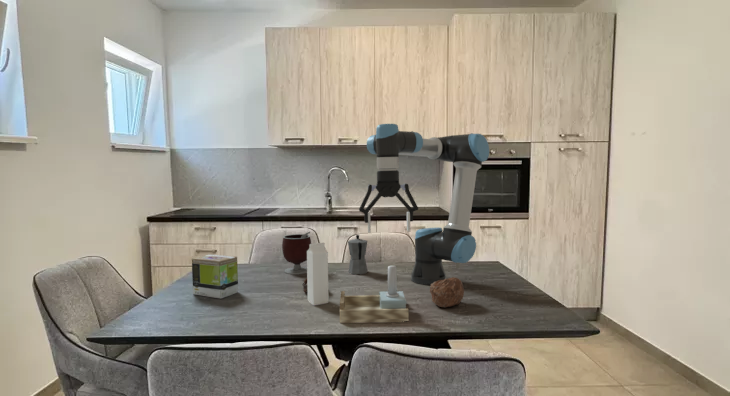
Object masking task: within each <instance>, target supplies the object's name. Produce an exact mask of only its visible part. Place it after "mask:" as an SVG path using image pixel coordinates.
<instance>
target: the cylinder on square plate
mask: <svg viewBox="0 0 730 396" xmlns="http://www.w3.org/2000/svg"><path fill="white" fill-rule="evenodd" d="M397 268H398V267H397V266H396V265H388V266H387V290H386V291H378V295H380V309H400V308H407V306H406V305H407V301H408V300H407V299H406V297H405V293H404V291H403V290H402V291H401V290H399V291H398V287H397V286H398V284H397V283H398V280H397V279H398V278H397V276H398V273H397V272H398V271H397Z"/></svg>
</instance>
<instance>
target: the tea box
mask: <svg viewBox="0 0 730 396" xmlns="http://www.w3.org/2000/svg"><path fill="white" fill-rule="evenodd" d="M191 271H192V272H191V274H192V294H193V295H196V296H203V297H208V298H215V299H224V298H227V297H229V296H232V295H234V294H237V293H238V292H239V279H238V278H239V273H238V256H234V255H224V254H223V255H222V254H212V253H211V254H206V255H202V256H201V255H200V256H197V257H193V258H191Z"/></svg>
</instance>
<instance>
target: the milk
mask: <svg viewBox="0 0 730 396" xmlns="http://www.w3.org/2000/svg"><path fill="white" fill-rule="evenodd" d="M328 257H329V252H328V250H327V249H326V243H325V242H317V243H316V242H315V243H311V244H310V245H309V249H308V250H307V261H306V267H307V273H306V279H307V284H306V285H307V291H306V292H307V301H308V302H309V303H310V304H311V305H312V306H319V305H325V304H328V303H329V292H328V290H329V258H328Z"/></svg>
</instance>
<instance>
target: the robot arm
mask: <svg viewBox="0 0 730 396" xmlns="http://www.w3.org/2000/svg"><path fill="white" fill-rule="evenodd" d="M375 129H376V130H375V131H376V132H375V134H372V135H370V136H369V137H367V140H366V148H367V151H368V152H369V153H370V154H372V155H376V169H377V172H376V184H370V183H369V184H368V186H367V191H366V193H365V196H364V198H363V200H362V202H361V203H360V206H359V208H358V211H359V212H360V213H363V214H364V215H363V216H364V223H365V224H367V233H369V234H371V232H372V231H371V213H370V211H371V209H372V208H373V207H374V206H375V204H376V203H378V201H379V199H381V197H382V198H394V197H396V198H397V199H398V201H400V203H401V204H402V205H403V206H404V207H405V209H407V211H406V231H407V232H411V222H413V221H414V212H416V211H418V210H419V206H418V204H417V203H416V201H415V199H414V197H413V195H412V193H411V191H410V187H409V184H408V183H403V184H401V183H400V172H399V170H398V169H399V168H400V167H399V166H400V163H399V159H400V158H399V157H400V156H411V157H412V156H413V157H425V158H428V159H429V160H435V161H443V162H449V163H452V165H453V166H454V168H455V173H454V178H453V179H454V181H453V187H452V193H451V200H450V208H449V212H448V213H449V214H448V221H447V224H446V225H444V226H443V228H442V227H427V228H425V227H424V228H418V229H417V230H415V236H414V256H415V258H414V260H415V261H414V262H415V263H414V265H413V268H412V271H411V274H410V276H411V277H410V279H411V281H412V282H413V283H416V284H420V285H427V286H428V285H430V286H431V284H433V283H434V282H436V281H439V280H444V279H447V275H446V271H445V269H444V266H443V261H447V262H452V263H455V264H457V263H459V264H466V263H468V262H470V260H472V258H473V257H474V255H475V252H476V250H477V242H476V238H475V236H473V231H472V229H471V228H470V222H471V216H472V215H471V214H472V207H473V201H474V195H475V194H474V193H475V186H476V179H477V172H478V170H479V169H481V168H482V165H483V162H486V161H487V160H488V159H489V157H490V145H489V142H488V139H487V138H486V137H485V136H484V135H483V134H481V133H467V134H456V135H447V136H441V137H440V136H438V137H436V136H433V137H430V138H423V136H422V134H420V133H419V132H417V131H413V130H412V131H409V130H408V131H404V130H403V131H401V130H400V129H399V125H398V124H396V123H379V124H378V125H377V126H376V128H375ZM400 189H402V191H404V193H405V194H406V196H407V199H408V200H409V202H410V204H411V205H409V203H408V202H407V201H406V200H405V199H404V198H403V196H402V195H401V194H400V193H399V191H400ZM374 190H376V191H377V192H378V193H376V195H375V197H374V198H373V199H372V200H371V202H370V203H369V204H368V205H367V202H368V200H369V198H370V197H371V194H372V192H373V191H374ZM366 205H367V206H366ZM411 206H412V207H411Z"/></svg>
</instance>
